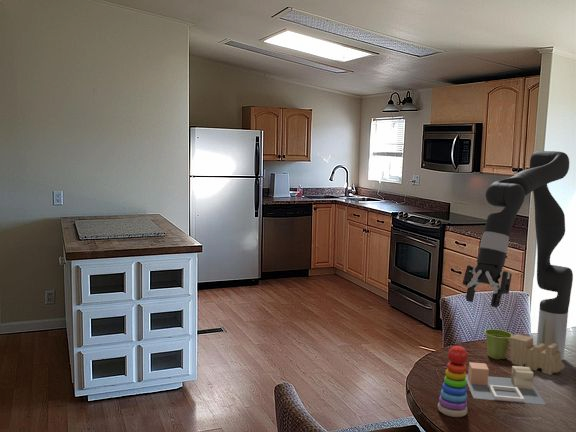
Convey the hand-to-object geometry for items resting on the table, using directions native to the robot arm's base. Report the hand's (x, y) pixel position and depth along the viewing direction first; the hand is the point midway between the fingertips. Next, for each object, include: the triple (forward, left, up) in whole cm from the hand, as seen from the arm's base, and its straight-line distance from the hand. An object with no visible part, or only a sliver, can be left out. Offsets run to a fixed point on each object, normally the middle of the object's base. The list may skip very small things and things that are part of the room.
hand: (481, 304), depth 160 cm
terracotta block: (-11, +3, -27) cm, 29 cm away
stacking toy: (+10, -8, -28) cm, 31 cm away
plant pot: (-38, +14, -28) cm, 49 cm away
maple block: (-11, +16, -27) cm, 33 cm away
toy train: (-28, +24, -29) cm, 47 cm away
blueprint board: (-7, +9, -28) cm, 30 cm away
